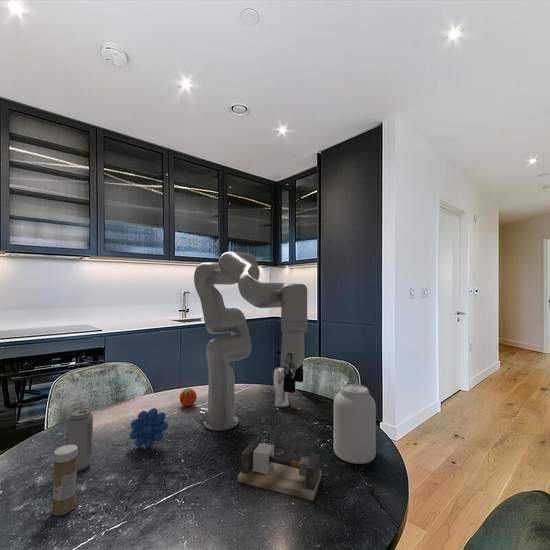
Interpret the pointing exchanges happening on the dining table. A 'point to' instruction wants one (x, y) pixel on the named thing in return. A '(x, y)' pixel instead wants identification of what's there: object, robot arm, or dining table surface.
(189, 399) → the clementine
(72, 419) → the energy drink can
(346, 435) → the can
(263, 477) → the small bench vise
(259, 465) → the sleeve
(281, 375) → the beer glass
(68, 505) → the pill bottle
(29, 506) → the dining table surface
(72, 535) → the dining table surface
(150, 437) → the grapes
